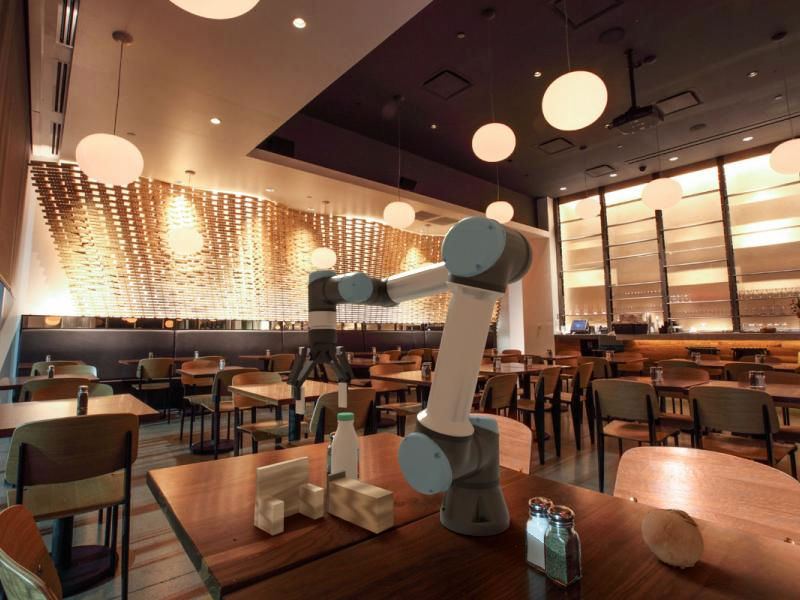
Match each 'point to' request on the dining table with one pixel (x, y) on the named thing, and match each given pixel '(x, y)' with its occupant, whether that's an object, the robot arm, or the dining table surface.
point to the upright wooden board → (285, 494)
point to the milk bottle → (345, 447)
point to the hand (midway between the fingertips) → (322, 410)
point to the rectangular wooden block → (359, 502)
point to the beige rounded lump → (672, 537)
